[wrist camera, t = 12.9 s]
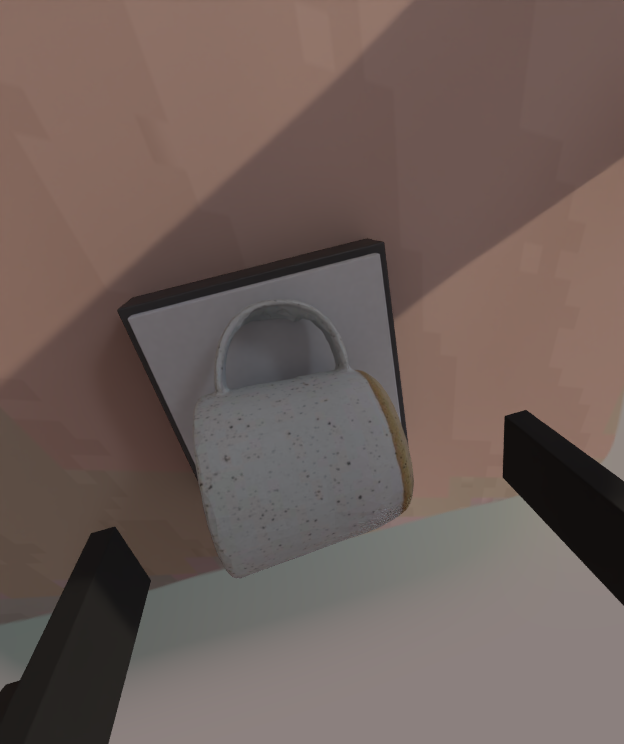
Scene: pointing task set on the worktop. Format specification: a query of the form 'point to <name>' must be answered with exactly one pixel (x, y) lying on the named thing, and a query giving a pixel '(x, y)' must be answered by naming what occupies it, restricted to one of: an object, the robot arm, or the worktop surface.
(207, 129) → the worktop surface
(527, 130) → the worktop surface
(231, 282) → the kitchen scale
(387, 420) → the ceramic mug
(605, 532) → the robot arm
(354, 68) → the worktop surface
